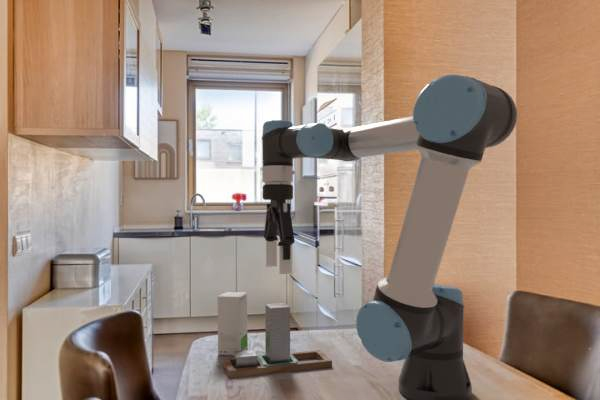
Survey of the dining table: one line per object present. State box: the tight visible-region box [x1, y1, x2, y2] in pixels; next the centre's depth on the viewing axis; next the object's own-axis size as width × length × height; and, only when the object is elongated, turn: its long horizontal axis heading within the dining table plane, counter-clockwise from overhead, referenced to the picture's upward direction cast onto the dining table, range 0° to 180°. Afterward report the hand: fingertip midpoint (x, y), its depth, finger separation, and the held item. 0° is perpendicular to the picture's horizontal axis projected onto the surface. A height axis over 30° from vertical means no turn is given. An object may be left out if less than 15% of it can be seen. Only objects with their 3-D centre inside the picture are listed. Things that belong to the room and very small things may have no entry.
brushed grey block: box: [264, 302, 291, 364], centre depth 124 cm, size 5×5×15 cm
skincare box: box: [217, 291, 249, 357], centre depth 135 cm, size 8×7×16 cm
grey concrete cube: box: [233, 349, 258, 369], centre depth 121 cm, size 5×5×4 cm
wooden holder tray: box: [222, 349, 333, 379], centre depth 124 cm, size 9×25×2 cm, turn 107°
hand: (278, 269), depth 123 cm, fingers open, 13 cm apart
